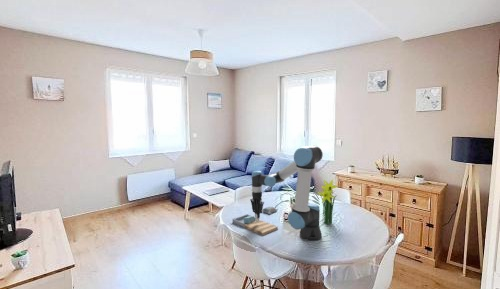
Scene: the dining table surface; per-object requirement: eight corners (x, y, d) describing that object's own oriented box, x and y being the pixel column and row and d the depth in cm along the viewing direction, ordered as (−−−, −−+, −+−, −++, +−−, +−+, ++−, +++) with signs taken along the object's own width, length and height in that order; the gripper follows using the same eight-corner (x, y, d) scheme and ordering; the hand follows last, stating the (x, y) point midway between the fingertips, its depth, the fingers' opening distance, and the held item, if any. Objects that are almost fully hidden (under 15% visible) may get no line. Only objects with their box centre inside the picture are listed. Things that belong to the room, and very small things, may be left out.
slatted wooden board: (277, 229, 199) (277, 226, 199) (263, 235, 188) (263, 232, 188) (258, 222, 214) (258, 219, 213) (244, 227, 202) (244, 224, 202)
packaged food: (278, 212, 235) (278, 207, 234) (269, 216, 227) (269, 210, 226) (270, 210, 241) (270, 204, 241) (261, 213, 233) (261, 208, 232)
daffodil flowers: (331, 230, 197) (332, 183, 194) (313, 225, 207) (314, 180, 204) (341, 223, 210) (342, 179, 207) (324, 219, 219) (324, 177, 217)
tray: (258, 221, 214) (258, 218, 214) (243, 227, 203) (243, 223, 203) (247, 217, 223) (247, 214, 223) (232, 222, 212) (232, 219, 212)
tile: (254, 221, 210) (253, 216, 210) (249, 223, 205) (248, 218, 206) (249, 221, 214) (248, 216, 214) (244, 223, 210) (243, 218, 210)
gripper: (266, 191, 199) (267, 222, 201) (254, 189, 209) (254, 218, 210) (259, 193, 194) (260, 225, 196) (247, 190, 204) (247, 221, 205)
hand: (257, 221), depth 203 cm, fingers closed
